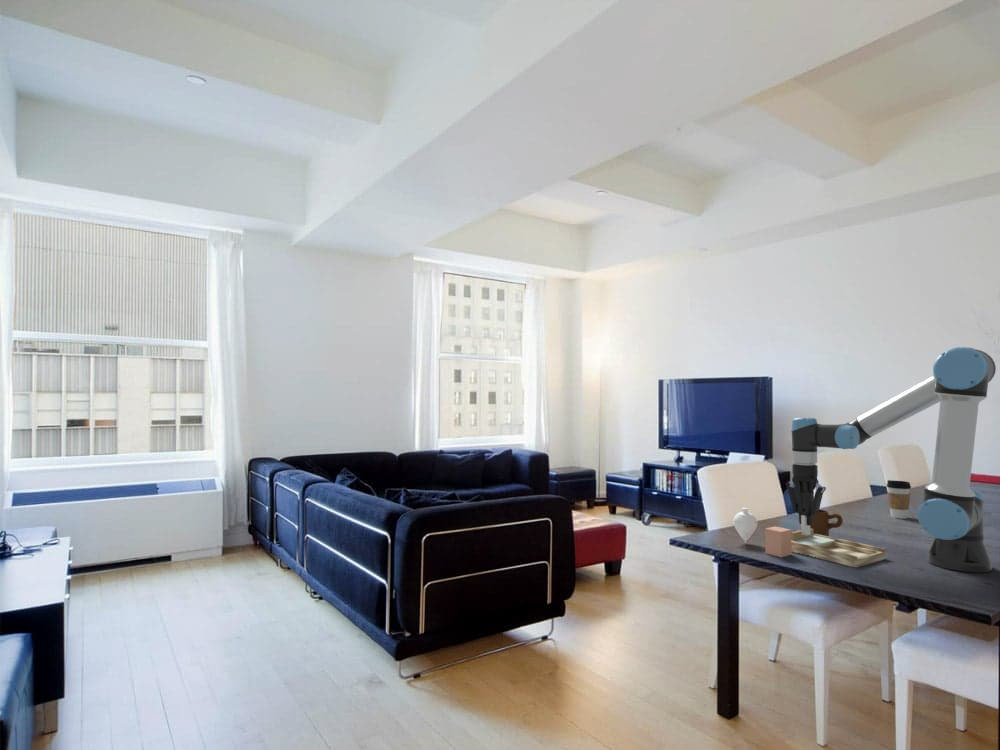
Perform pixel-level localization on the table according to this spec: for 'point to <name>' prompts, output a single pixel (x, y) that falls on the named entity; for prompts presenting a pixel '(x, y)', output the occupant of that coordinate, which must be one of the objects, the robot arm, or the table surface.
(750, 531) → the spinning top
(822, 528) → the mug
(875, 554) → the beige flat rectangular tray
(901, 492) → the coffee cup
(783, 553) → the block
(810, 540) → the lid
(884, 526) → the table surface
